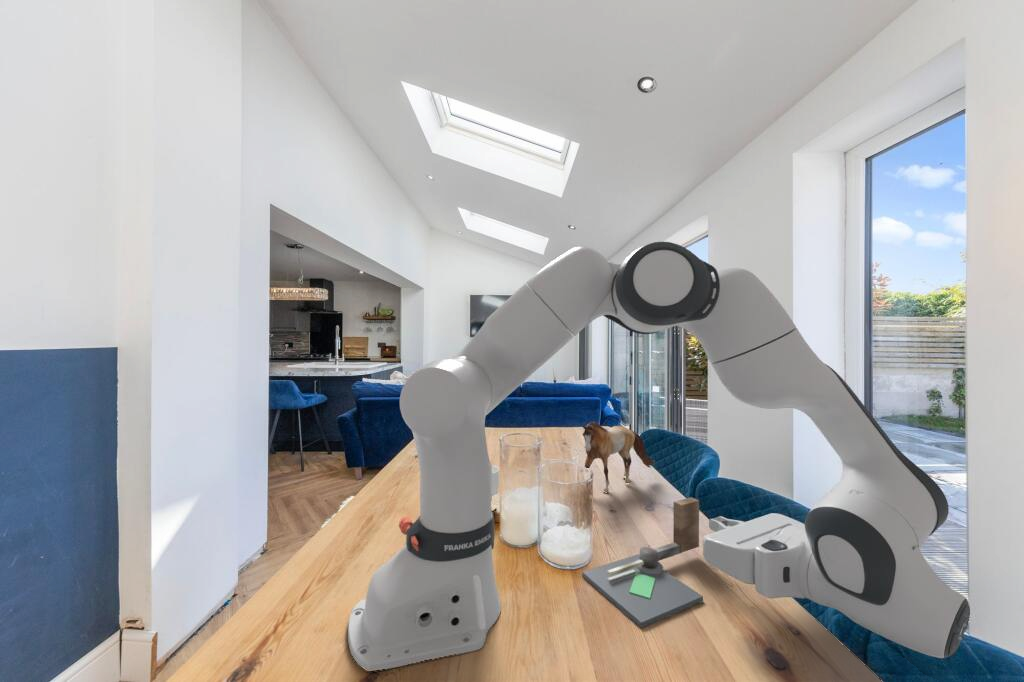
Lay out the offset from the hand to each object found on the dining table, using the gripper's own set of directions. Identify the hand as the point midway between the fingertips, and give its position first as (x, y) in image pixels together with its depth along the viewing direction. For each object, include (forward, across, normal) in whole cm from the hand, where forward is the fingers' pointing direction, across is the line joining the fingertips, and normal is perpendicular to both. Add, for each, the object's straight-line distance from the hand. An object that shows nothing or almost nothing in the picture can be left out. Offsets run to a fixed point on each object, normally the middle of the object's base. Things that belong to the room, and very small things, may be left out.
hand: (714, 521), depth 69 cm
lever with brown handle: (+6, +8, +8) cm, 13 cm away
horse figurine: (+39, -15, +10) cm, 43 cm away
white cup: (+45, +26, +10) cm, 53 cm away
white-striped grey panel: (+4, +14, +10) cm, 17 cm away
